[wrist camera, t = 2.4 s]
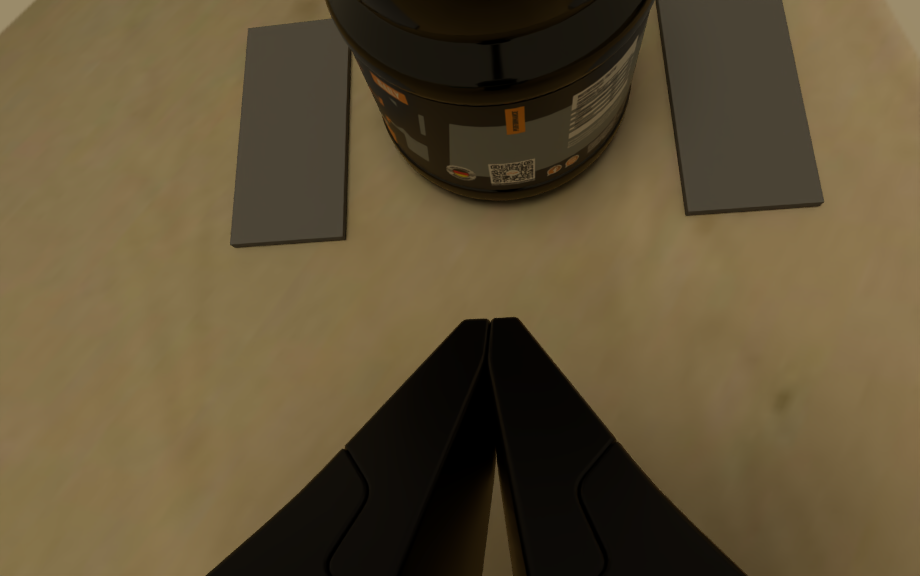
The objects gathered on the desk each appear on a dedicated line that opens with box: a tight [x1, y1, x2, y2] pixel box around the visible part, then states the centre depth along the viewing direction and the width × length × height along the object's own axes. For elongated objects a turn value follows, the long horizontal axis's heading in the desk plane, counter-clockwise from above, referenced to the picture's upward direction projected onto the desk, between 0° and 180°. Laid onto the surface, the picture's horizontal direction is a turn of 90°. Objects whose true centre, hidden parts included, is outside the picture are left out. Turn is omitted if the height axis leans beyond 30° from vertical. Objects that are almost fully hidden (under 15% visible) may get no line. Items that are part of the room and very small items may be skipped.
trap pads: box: [230, 0, 824, 247], centre depth 25 cm, size 11×24×1 cm, turn 92°
